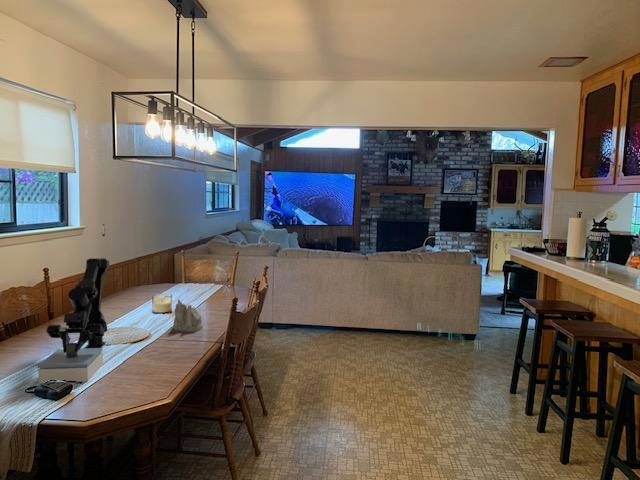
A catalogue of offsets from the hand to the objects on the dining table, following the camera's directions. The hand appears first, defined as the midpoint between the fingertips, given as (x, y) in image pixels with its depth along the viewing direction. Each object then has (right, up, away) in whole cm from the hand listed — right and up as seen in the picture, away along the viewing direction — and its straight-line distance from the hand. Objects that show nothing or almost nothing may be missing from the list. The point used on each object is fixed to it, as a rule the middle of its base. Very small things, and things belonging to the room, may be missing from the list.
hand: (70, 352), depth 161 cm
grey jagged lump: (+25, -3, +61) cm, 67 cm away
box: (0, -8, +2) cm, 9 cm away
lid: (0, -4, +2) cm, 4 cm away
